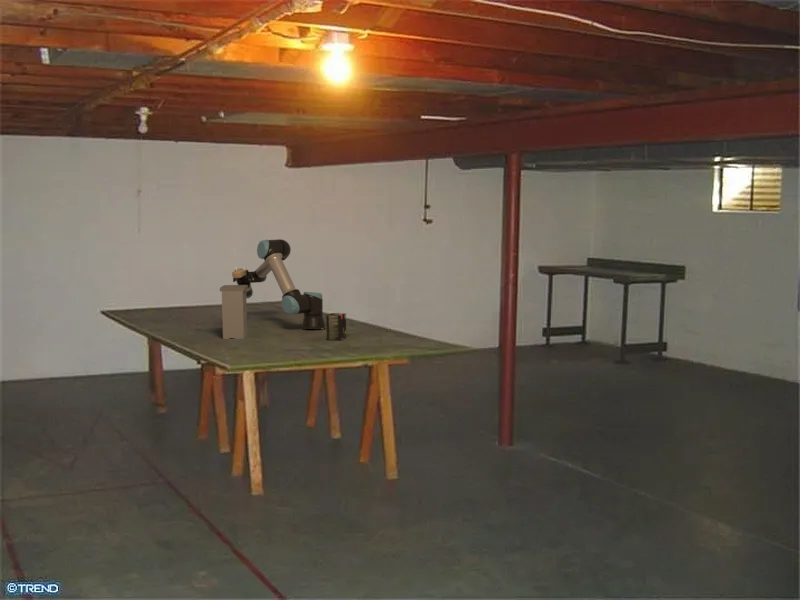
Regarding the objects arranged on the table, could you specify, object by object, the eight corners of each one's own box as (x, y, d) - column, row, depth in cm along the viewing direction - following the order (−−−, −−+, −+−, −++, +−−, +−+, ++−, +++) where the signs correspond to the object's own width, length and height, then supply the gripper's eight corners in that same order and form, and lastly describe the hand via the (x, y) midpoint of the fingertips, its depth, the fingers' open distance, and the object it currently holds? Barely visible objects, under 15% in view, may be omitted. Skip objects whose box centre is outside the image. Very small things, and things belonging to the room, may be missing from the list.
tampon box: (341, 340, 512) (341, 315, 511) (326, 340, 514) (325, 314, 513) (346, 337, 523) (346, 312, 522) (331, 337, 525) (331, 312, 523)
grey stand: (225, 334, 539) (224, 285, 536) (248, 334, 540) (247, 284, 536) (221, 339, 521) (219, 287, 518) (245, 338, 522) (244, 287, 519)
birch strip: (238, 274, 568) (238, 269, 568) (245, 274, 569) (245, 269, 568) (232, 277, 540) (232, 272, 540) (240, 277, 541) (240, 272, 540)
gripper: (258, 289, 580) (254, 273, 559) (230, 289, 579) (226, 274, 558) (258, 278, 583) (254, 262, 562) (231, 279, 582) (226, 263, 561)
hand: (240, 268), depth 560 cm, fingers closed on birch strip, 4 cm apart
